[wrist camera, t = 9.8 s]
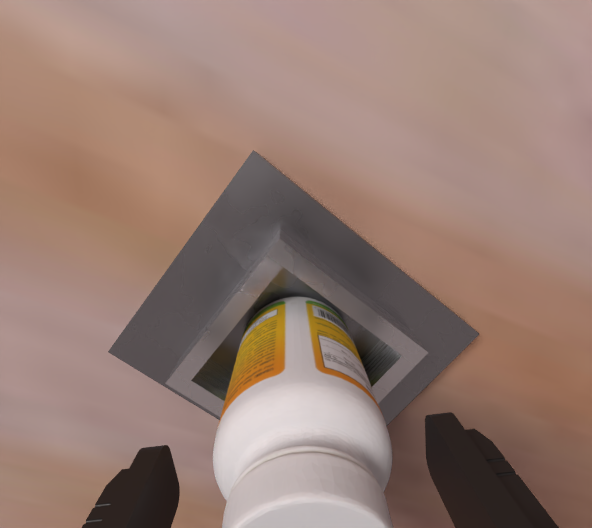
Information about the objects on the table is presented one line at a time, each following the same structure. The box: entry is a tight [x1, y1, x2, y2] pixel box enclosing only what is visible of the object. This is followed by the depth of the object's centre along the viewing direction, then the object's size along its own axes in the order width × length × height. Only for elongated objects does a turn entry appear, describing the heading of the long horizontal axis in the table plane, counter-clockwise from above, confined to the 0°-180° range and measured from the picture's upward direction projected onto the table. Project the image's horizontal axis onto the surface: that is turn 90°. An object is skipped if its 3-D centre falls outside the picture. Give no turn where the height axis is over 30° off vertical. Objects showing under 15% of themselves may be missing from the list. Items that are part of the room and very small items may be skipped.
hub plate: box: [108, 150, 479, 426], centre depth 16 cm, size 14×12×3 cm
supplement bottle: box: [213, 297, 393, 528], centre depth 12 cm, size 5×5×10 cm
